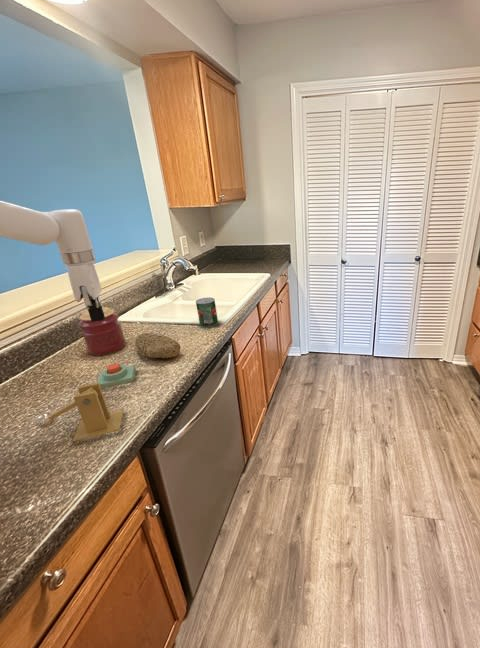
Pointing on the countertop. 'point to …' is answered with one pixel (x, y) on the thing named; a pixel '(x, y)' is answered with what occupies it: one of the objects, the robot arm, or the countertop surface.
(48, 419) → the tap lever
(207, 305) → the canned tomato
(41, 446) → the countertop surface
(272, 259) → the countertop surface
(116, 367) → the button
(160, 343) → the speckled river stone
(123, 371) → the switch block
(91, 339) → the kitchen canister
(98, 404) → the bracket
